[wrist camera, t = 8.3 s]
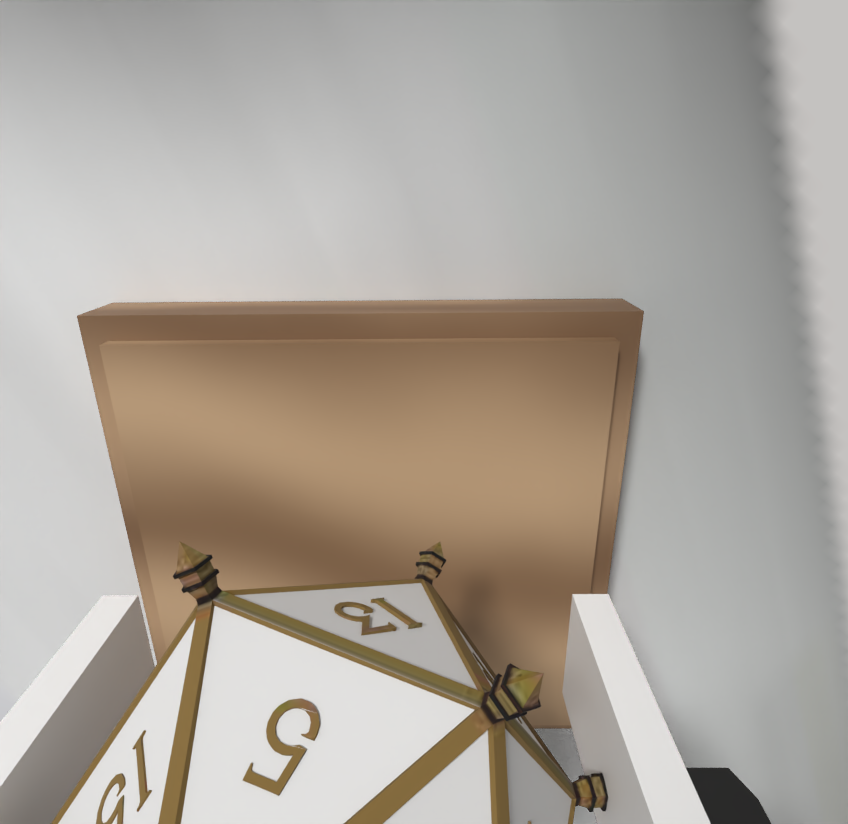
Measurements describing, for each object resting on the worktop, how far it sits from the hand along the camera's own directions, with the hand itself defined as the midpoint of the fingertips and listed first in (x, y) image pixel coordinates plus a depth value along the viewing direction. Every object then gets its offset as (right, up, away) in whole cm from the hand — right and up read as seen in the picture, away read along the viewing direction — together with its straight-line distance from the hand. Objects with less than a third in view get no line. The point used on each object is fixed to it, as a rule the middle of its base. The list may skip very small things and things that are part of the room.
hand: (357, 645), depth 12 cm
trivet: (0, +2, +4) cm, 5 cm away
